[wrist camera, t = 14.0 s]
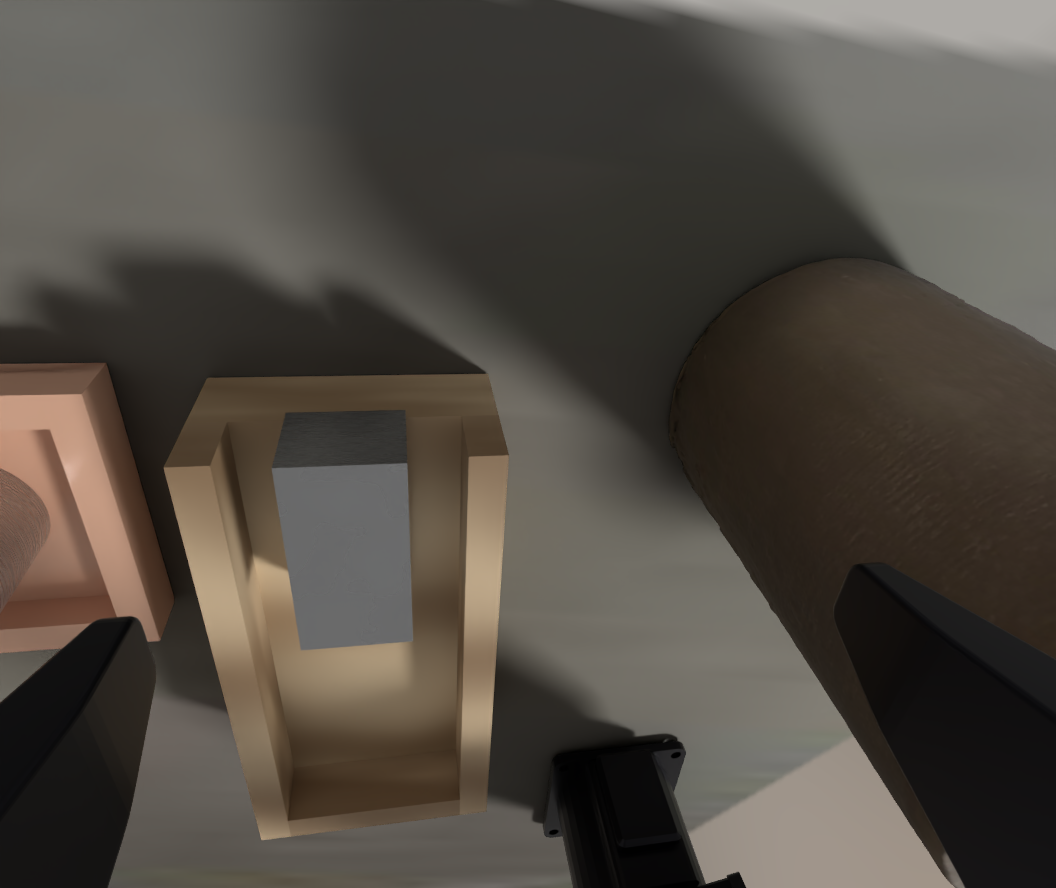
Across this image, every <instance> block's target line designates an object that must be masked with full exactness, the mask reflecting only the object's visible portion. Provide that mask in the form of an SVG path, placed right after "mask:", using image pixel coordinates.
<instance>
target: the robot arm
mask: <svg viewBox="0 0 1056 888" xmlns="http://www.w3.org/2000/svg"><path fill="white" fill-rule="evenodd" d="M833 618H834V622H835V625H836V628H837V630H838V633H839V635H840V637H841V640H842V642H843V645H844V647H845V649H846V652H847V654H848V656H849V659H850V661H851V664H852V666H853V668H854V671H855V673H856V675H857V678H858V680H859V682H860V685H861V687H862V690H863V692H864V694H865V697H866V699H867V701H868V704H869V706H870V709H871V711H872V713H873V715H874V717H875V720H876V722H877V724H878V726H879V728H880V730H881V732H882V734H883V736H884V738H885V740H886V742H887V744H888V746H889V748H890V750H891V751H892V753H893V755H894V757H895V759H896V761H897V763H898V764H899V766H900V768H901V770H902V772H903V774H904V776H905V777H906V779H907V781H908V783H909V785H910V787H911V789H912V790H913V792H914V794H915V796H916V798H917V800H918V801H919V803H920V805H921V807H922V809H923V811H924V813H925V814H926V816H927V818H928V820H929V822H930V824H931V826H932V827H933V829H934V831H935V833H936V835H937V837H938V839H939V840H940V842H941V844H942V846H943V848H944V850H945V852H946V853H947V855H948V857H949V859H950V861H951V863H952V865H953V866H954V868H955V870H956V872H957V874H958V876H959V878H960V879H961V881H962V883H963V885H964V887H965V888H1056V659H1055V658H1053V657H1051V656H1049V655H1047V654H1046V653H1044V652H1042V651H1040V650H1039V649H1037V648H1035V647H1033V646H1032V645H1030V644H1028V643H1026V642H1024V641H1023V640H1021V639H1019V638H1017V637H1016V636H1014V635H1012V634H1010V633H1009V632H1007V631H1005V630H1003V629H1001V628H1000V627H998V626H996V625H994V624H993V623H991V622H989V621H987V620H986V619H984V618H982V617H980V616H978V615H977V614H975V613H973V612H971V611H970V610H968V609H966V608H964V607H963V606H961V605H959V604H957V603H955V602H954V601H952V600H950V599H948V598H947V597H945V596H943V595H941V594H940V593H938V592H936V591H934V590H932V589H931V588H929V587H927V586H925V585H924V584H922V583H920V582H918V581H917V580H915V579H913V578H911V577H909V576H908V575H906V574H904V573H902V572H901V571H899V570H897V569H895V568H894V567H892V566H890V565H888V564H886V563H881V562H873V563H859V564H855V565H854V566H852V567H851V568H850V569H849V571H848V573H847V575H846V578H845V580H844V582H843V585H842V587H841V589H840V592H839V594H838V597H837V599H836V601H835V604H834V607H833ZM155 682H156V667H155V662H154V659H153V656H152V653H151V650H150V647H149V644H148V641H147V638H146V635H145V632H144V629H143V626H142V624H141V622H140V621H139V619H138V618H136V617H133V616H124V617H110V618H101V619H97V620H96V621H94V622H92V623H91V624H89V625H88V626H87V627H86V628H85V629H84V630H83V631H81V632H80V633H79V634H78V635H77V636H76V637H75V638H73V639H72V640H71V641H70V642H69V643H68V644H67V645H65V646H64V647H63V648H62V649H61V650H60V651H59V652H57V653H56V654H55V655H54V656H53V657H52V658H51V659H49V660H48V661H47V662H46V663H45V664H44V665H43V666H42V667H40V668H39V669H38V670H37V671H36V672H35V673H34V674H32V675H31V676H30V677H29V678H28V679H27V680H26V681H24V682H23V683H22V684H21V685H20V686H19V687H18V688H16V689H15V690H14V691H13V692H12V693H11V694H10V695H8V696H7V697H6V698H5V699H4V700H3V701H2V702H0V888H108V885H109V882H110V879H111V875H112V872H113V869H114V866H115V863H116V859H117V856H118V853H119V850H120V847H121V843H122V840H123V837H124V833H125V830H126V826H127V823H128V819H129V815H130V811H131V806H132V802H133V797H134V792H135V787H136V782H137V777H138V771H139V766H140V761H141V756H142V751H143V745H144V740H145V735H146V730H147V725H148V719H149V714H150V709H151V704H152V699H153V693H154V688H155ZM685 755H686V751H685V749H684V746H683V744H682V743H681V742H679V741H674V742H665V743H657V744H648V745H639V746H631V747H622V748H613V749H604V750H596V751H587V752H578V753H570V754H562V755H559V756H557V757H555V758H554V759H553V761H552V766H551V773H550V779H549V786H548V793H547V800H546V807H545V814H544V821H543V829H544V835H545V836H546V837H549V838H551V837H560V836H563V840H564V845H565V850H566V855H567V860H568V865H569V870H570V875H571V880H572V884H573V888H746V887H745V884H744V882H743V880H742V877H741V875H740V873H739V872H736V873H733V874H730V875H727V878H725V879H722V880H718V881H715V882H712V883H708V884H706V883H705V880H704V877H703V874H702V871H701V869H700V866H699V863H698V860H697V857H696V854H695V852H694V849H693V846H692V843H691V840H690V838H689V835H688V832H687V829H686V826H685V823H684V821H683V818H682V815H681V812H680V809H679V807H678V804H677V801H676V798H675V795H674V789H675V786H676V783H677V780H678V777H679V774H680V771H681V767H682V764H683V761H684V758H685Z"/></svg>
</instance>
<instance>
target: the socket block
mask: <svg viewBox="0 0 1056 888" xmlns="http://www.w3.org/2000/svg"><path fill="white" fill-rule="evenodd" d="M378 410H406V439H407V468H408V500H409V531H410V562H411V593H412V624H413V641H412V642H399V643H387V644H375V645H363V646H350V647H338V648H326V649H314V650H301V648H300V642H299V635H298V629H297V623H296V617H295V611H294V604H293V598H292V592H291V586H290V580H289V573H288V567H287V561H286V555H285V548H284V542H283V536H282V530H281V524H280V517H279V511H278V505H277V499H276V493H275V486H274V480H273V474H272V465H273V461H274V457H275V453H276V449H277V445H278V441H279V437H280V434H281V430H282V426H283V422H284V418H285V414H286V413H291V412H334V411H378ZM508 460H509V454H508V450H507V446H506V442H505V439H504V435H503V431H502V427H501V423H500V419H499V415H498V411H497V407H496V404H495V400H494V396H493V392H492V388H491V384H490V380H489V376H488V374H437V375H367V376H296V377H226V378H207V379H206V381H205V383H204V385H203V388H202V390H201V392H200V394H199V396H198V398H197V400H196V402H195V404H194V406H193V408H192V410H191V412H190V414H189V416H188V418H187V420H186V422H185V424H184V426H183V429H182V431H181V433H180V435H179V437H178V439H177V441H176V443H175V445H174V447H173V449H172V451H171V453H170V455H169V457H168V459H167V461H166V463H165V465H164V467H163V468H164V472H165V475H166V479H167V483H168V487H169V491H170V494H171V498H172V502H173V506H174V510H175V513H176V517H177V521H178V525H179V528H180V532H181V536H182V540H183V544H184V547H185V551H186V555H187V559H188V563H189V566H190V570H191V574H192V578H193V582H194V585H195V589H196V593H197V597H198V601H199V604H200V608H201V612H202V616H203V620H204V623H205V627H206V631H207V635H208V639H209V642H210V646H211V650H212V654H213V658H214V661H215V665H216V669H217V673H218V677H219V680H220V684H221V688H222V692H223V696H224V699H225V703H226V707H227V711H228V715H229V718H230V722H231V726H232V730H233V734H234V737H235V741H236V745H237V749H238V753H239V756H240V760H241V764H242V768H243V772H244V775H245V779H246V783H247V787H248V791H249V794H250V798H251V802H252V806H253V810H254V813H255V817H256V821H257V825H258V829H259V832H260V836H261V840H266V839H274V838H282V837H290V836H298V835H306V834H314V833H321V832H329V831H337V830H345V829H353V828H361V827H369V826H376V825H384V824H392V823H400V822H408V821H416V820H424V819H431V818H439V817H447V816H455V815H463V814H471V813H479V812H486V808H487V793H488V777H489V761H490V745H491V729H492V713H493V698H494V682H495V666H496V650H497V634H498V619H499V603H500V587H501V571H502V555H503V539H504V524H505V508H506V492H507V476H508Z"/></svg>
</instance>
